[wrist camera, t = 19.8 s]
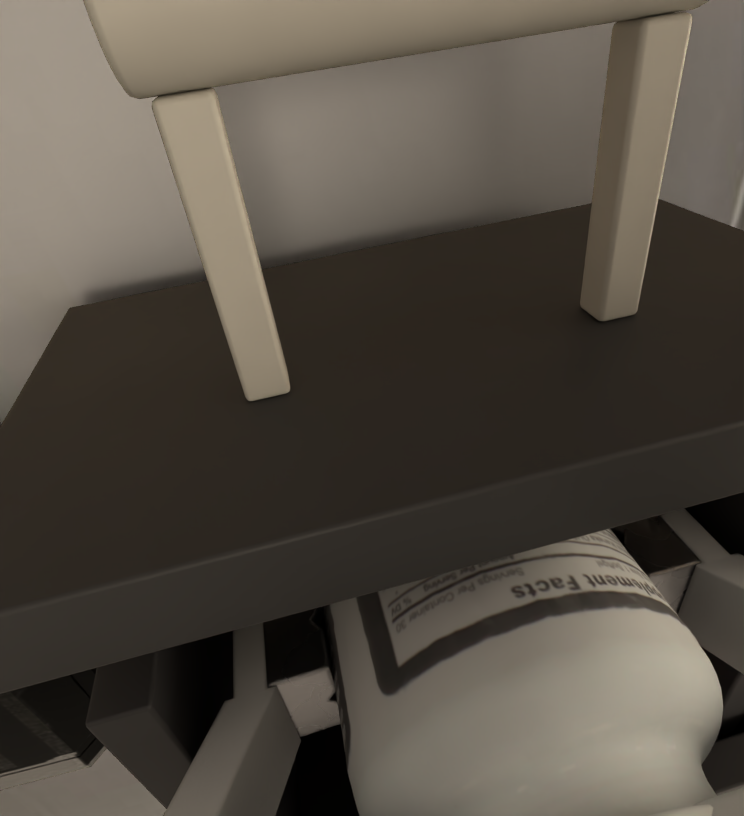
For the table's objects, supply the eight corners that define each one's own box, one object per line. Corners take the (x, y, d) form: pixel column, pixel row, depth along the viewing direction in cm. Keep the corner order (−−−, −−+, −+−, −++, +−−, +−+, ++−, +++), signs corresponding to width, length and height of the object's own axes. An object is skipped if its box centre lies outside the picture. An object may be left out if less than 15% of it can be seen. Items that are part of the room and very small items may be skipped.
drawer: (-89, -6, 8) (-1124, -141, 2) (696, -112, 9) (1584, -390, 3) (246, 661, 18) (255, 952, 13) (578, 569, 20) (726, 793, 14)
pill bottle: (455, 534, 15) (694, 1053, 8) (271, 518, 13) (334, 1199, 6) (547, 376, 13) (1058, 917, 5) (335, 327, 11) (622, 1093, 3)
